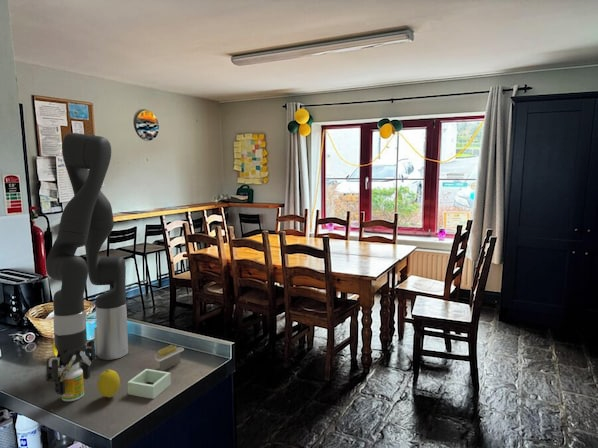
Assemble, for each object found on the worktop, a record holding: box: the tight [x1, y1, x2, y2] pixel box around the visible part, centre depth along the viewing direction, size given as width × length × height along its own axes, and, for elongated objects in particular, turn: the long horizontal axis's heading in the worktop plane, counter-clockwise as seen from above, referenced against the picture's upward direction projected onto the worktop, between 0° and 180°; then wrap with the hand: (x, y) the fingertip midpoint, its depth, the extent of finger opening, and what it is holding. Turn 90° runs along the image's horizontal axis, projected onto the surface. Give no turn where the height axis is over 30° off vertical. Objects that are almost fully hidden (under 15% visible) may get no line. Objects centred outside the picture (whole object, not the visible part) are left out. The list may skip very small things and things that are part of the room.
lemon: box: [96, 368, 121, 399], centre depth 111 cm, size 6×6×8 cm
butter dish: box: [154, 344, 185, 372], centre depth 129 cm, size 12×18×7 cm, turn 148°
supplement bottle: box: [59, 362, 85, 402], centre depth 111 cm, size 5×5×10 cm
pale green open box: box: [126, 368, 172, 400], centre depth 116 cm, size 8×8×4 cm
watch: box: [51, 341, 58, 358], centre depth 135 cm, size 6×3×6 cm, turn 64°
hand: (73, 386), depth 111 cm, fingers open, 8 cm apart
